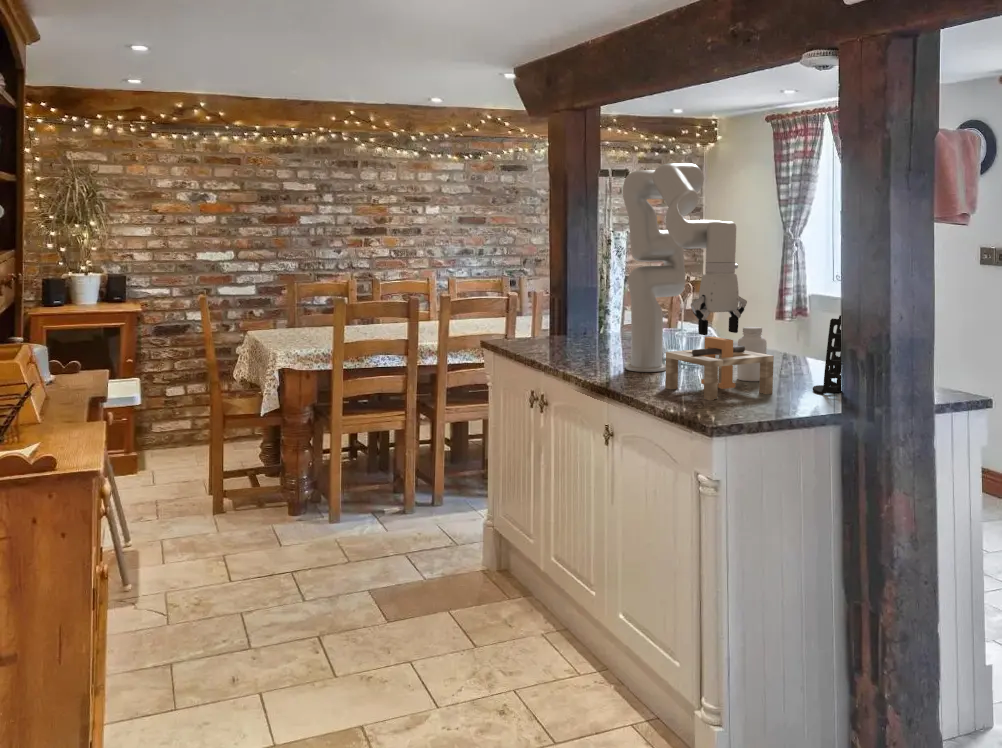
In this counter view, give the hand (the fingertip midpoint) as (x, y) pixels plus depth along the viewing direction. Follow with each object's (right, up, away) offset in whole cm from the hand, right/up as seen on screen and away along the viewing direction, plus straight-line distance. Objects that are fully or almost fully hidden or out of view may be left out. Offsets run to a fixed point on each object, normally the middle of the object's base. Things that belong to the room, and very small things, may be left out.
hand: (718, 333), depth 248 cm
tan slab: (0, -14, +2) cm, 14 cm away
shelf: (0, -15, +2) cm, 15 cm away
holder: (+29, -16, -2) cm, 33 cm away
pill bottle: (+14, -13, +19) cm, 26 cm away
